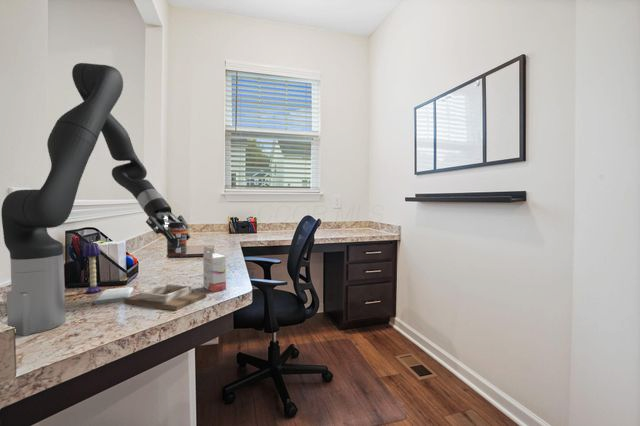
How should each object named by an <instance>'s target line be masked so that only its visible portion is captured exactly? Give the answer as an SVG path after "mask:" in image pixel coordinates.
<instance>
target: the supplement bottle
mask: <svg viewBox="0 0 640 426" xmlns="http://www.w3.org/2000/svg"><path fill="white" fill-rule="evenodd" d="M170 226H171V227H168V229H169V230H170V231H171V233H172V234H173V235H174V236H175V240H174V241H173V242H171V243H170V242H169V241H168V240H167V239H166V242H167V243H166V247H167V248H166V249H167V250H166V252H167V254H166V255H168V256H170V257H179V256H185V255H186V254H187V240H186V238H187V237H186V236H187V233H186V231H187V229H185V228H184V227H183V226H184V225H183V222H171V223H170Z"/></svg>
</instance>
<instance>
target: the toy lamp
mask: <svg viewBox="0 0 640 426" xmlns="http://www.w3.org/2000/svg"><path fill="white" fill-rule="evenodd" d="M100 255H101V251H100V248H99V246H98V243H97V242H90V243H89V242H88V243H85V245H84V248H83V252H82V256H83V257H86V258H87V257H88V260H89V261H88V264H89V266H88V268H89V287H88V288H86V290H85V294H88V295H92V294H93V295H94V294H99V293H101V292H103V291H102V287H100V286H98V283H97V265H96V263H97V260H96V257H98V256H100Z"/></svg>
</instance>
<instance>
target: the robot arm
mask: <svg viewBox="0 0 640 426" xmlns="http://www.w3.org/2000/svg"><path fill="white" fill-rule="evenodd" d="M71 75H72V81H73V84H74V87H75V88H76V90H77V91H78V94H79V95H80V98H81V99H82V100H83V101H82V102H81V103H79V104H77V105H76V106H74V107H73V108H71V109H69V110H68V111H66V112H65V113H64V114H62V115H61V116H60V117H59V118H58V119H57V121H55V124H54V126H53V128H52V130H51V131H50V134H49V135H48V138H47V144H46V145H47V151H48V155H49V160H50V164H51V165H50V171H49V173H48V175H47V178H46V180H45V181H44V183H43V185H42V186H41V188H39V189H19V190H18V189H17V190H14V191H11V192H10V193H9V194H7V195H6V196H5V198H4V199H3V201H2V205H1V214H0V215H1V226H2V233H3V243H4V245H5V247H6V249H7V250H8V252H9V259H10V261H9V262H10V285H11V286H10V287H11V288H10V289H11V290H8V291H7V292H6V306H7V307H6V311H7V312H6V313H7V314H6V315H7V327H8V326H12V327H15V329H16V334H15V335H20V336H28V335H30V334H36V333H41V332H45V331H49V330H52V329H55V328H58V327H59V326H61V325H63V324H65V323H66V315H67V313H66V293H65V287H66V286H65V263H64V262H65V259H64V245H63V243H62V241H61V242H60V241H59V240H58V239H57V240H56V239H54V238H53V237H52V236H51V235H50V234H49V233H48V229H51V228H57V227H59V226H61V225H63V224H64V223H66V221H67V220H68V218H69V217H70V215H71V213H72V210H73V208H74V203H75V200H76V196H77V192H78V191H79V187H80V183H81V180H82V177H83V175H84V172H85V171H86V170H85V169H86V167H87V164H88V162H89V160H90V157H91V155H92V153H93V151H94V149H95V147H96V144H97V142H98V140H99V137H100V134H101V133H102V135H103V136H102V137H103V138H104V141H105V142H106V143H105V144H106V146H107V148H108V151H109V153H110V156H111V158H112V160H115V161H119V162H125V161H126V162H127V163H122V164H119V165H116V166H115V167H113V168H112V170H111V176H112V178H113V180H114V181H115V182H116V183H117V184H119V185H120V187H123V188H124V189H125V190H127V191H128V192H130V193H131V195H133V197H134V198H135V199H136V201H137V202H138V204H139V207H141V209H142V210H143V211H144V212H145V214H146V215H147V217H148V218H147V219H146V221H145V223H146V224H147V225H148V227H149V228H150V229H151V230H153V232H154V233H155V234H157V235H159V234H160V235H162V236H164V237H165V238H166V241H167V240H168V241H169V242H170V243H171V242H173V241H174V240H175V236H174V235H173V234H172V233H171V231H170V230H169V228H170V227H171V226H170V223H171V222H183V227H184V228H185V229H186V233H187V236H186V237H187V238H186V241H189V239H190V238H191V235H190V233H189V232H188V231H187V229H188V228H189V225H188V223H187V221H186V220H185V218H184V217H183V215H181V214H180V215H179V216H176V215H175V214H174V213H172V212H173V211H172V207H171V206H170V204H169V203H168V202H167V200H165V198H164V197H163V195H162V194H161V193H159V191H158V190H157V189H156V188H155V186H154V185H153V184H152V183H151V182H150V181H149V179H146V177H147V174H148V173H147V169H146V167H145V166H144V164H143V163H142V162H141V160H140V159H139V158H138V157H139V156H138V155H137V154H136V152H135V150H134V146H133V143H132V140H131V137H130V136H129V133H128V131H127V130H126V129H125V128H124V126H123V125H122V124H121V123H120V122H119V121H118V120H117V118H115V117H114V116H113V114H112V113H111V112H112V111H113V109H114V107H115V105H116V104H117V102H118V101H119V99H120V97H121V95H122V92H123V88H124V79H123V75H122V74H121V72H120V71H119V69H117V68H115V66H111V65H108V64H107V65H106V64H98V63H97V64H96V63H88V62H87V63H86V62H79V63H76V64H75V65H74V66H73V67H72V72H71ZM128 161H129V162H128Z"/></svg>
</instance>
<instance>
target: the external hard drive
mask: <svg viewBox="0 0 640 426" xmlns="http://www.w3.org/2000/svg"><path fill="white" fill-rule="evenodd" d="M133 291H134V287H133V286H130V287H128V286H127V287H119V288H110V289H105V290H104V291H102V293H101V294H100V295H98V297H96V298H95V300H94V301H93V304H94V305H98V304H106V303H116V302H122V301H124V299H125V298H128V297H130V295H131V294H132V292H133ZM124 302H125V301H124Z"/></svg>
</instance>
